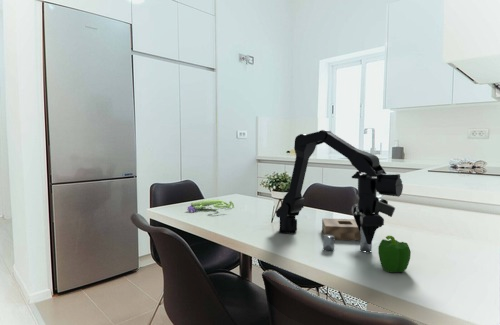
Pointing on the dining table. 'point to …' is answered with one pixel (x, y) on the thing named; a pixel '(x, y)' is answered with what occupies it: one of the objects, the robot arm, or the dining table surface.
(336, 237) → the walnut hole block
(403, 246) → the bell pepper
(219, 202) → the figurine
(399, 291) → the dining table surface
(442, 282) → the dining table surface
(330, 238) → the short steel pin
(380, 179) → the robot arm
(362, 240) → the tall steel pin
